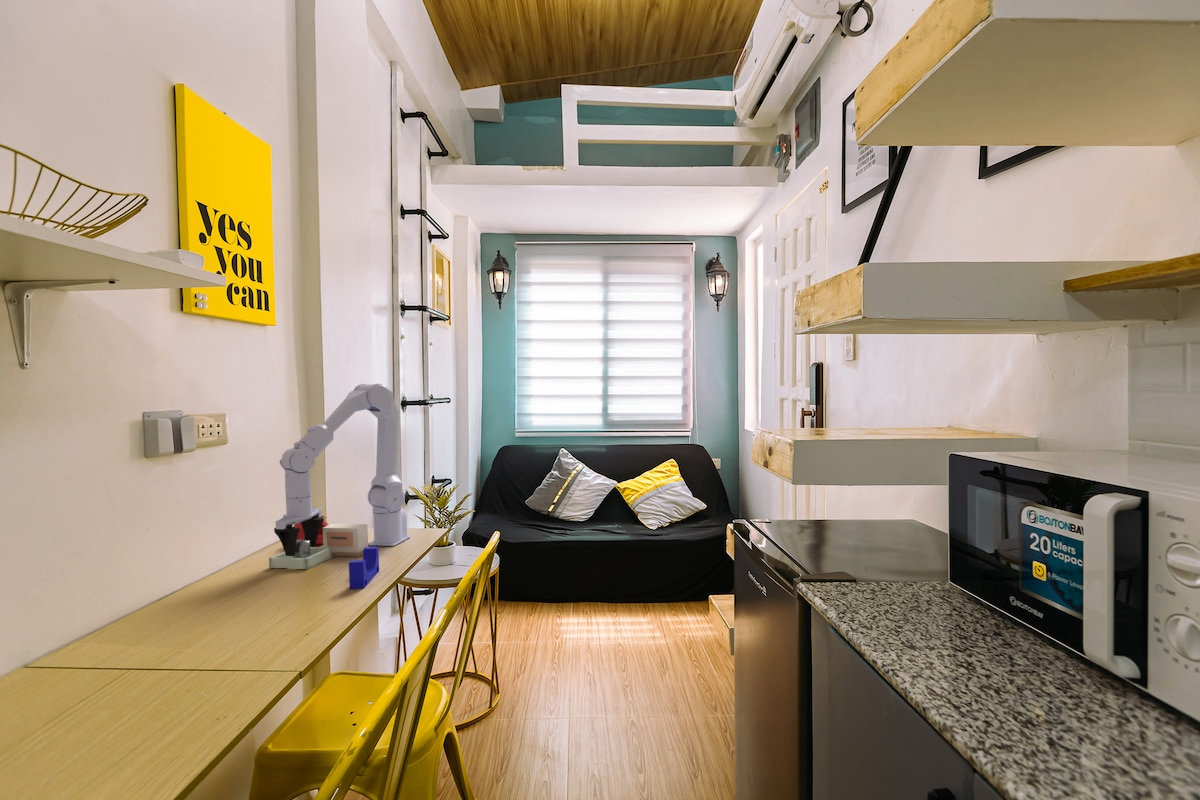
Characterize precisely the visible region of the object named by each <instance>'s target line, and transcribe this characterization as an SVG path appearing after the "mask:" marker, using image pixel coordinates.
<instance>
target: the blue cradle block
mask: <svg viewBox="0 0 1200 800" xmlns="http://www.w3.org/2000/svg"><path fill="white" fill-rule="evenodd" d="M379 551H380V550H379V546H368V547H365V548H364V549H363V556H362V559H357V560H355V559H354V560H350V561H349V562H348V576H349V577H348V578H349V579H348V581H349V590H360V589H361V590H363V589H365V588H366V587H367V586H368V585H369V584H370V583H371V582H372V580H373V579H374V578H375V577H376V575H378V574H379V572H380V556H379V554H380V553H379Z"/></svg>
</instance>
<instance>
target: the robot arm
mask: <svg viewBox="0 0 1200 800" xmlns="http://www.w3.org/2000/svg"><path fill="white" fill-rule="evenodd" d="M393 397H394V393H393V391H392V390H391V389H390V388H388V386H387V385H385V384H383V383H375V384H373V383H371V384H366V383H360V384H358V385H356V386H355V387H354V389H353V390H351V391H350V392H348V394H347V396H345V398H344V399H343V400H342V402H341V403H340V404H339V405H338V407H336V408H335V410H334V411H333V412H332V413H331V414H330V415H329V416H328V418H326V420H325V421H323V423H322V424H315V425H313V426H309V427H308V428H307V429H306V431H307V432H306V433H305V434H304V436H302V438H300V440H299V441H295V442H294V443H293V444H292V446H293V447H291V448H288V449H286V450H285V451H284V452H283V454H282V456H281V458H280V459H279V464H280V466H281V468H282V469H283V470H284V487H285V488H284V489H285V491H284V492H285V509H286V511H285V512H286V513H285V514H283V516H282V517H281V518H280V519H278V520H276V521H275V527H274V531H273V532H274V534H275V535H276V536H277V537H278V539H279V541H280V543H281V545H282V548H283V552H285V554H286V556H295V554H296V541H297V536H298V532H299V530H300V528H294V525H295V524H297V523H300V522H301V525H302V527H303V530H304V535H305V539H310V547H316V541H317V537H318V533H319V530H320V527H321V525H322V523H323V522H324V519H325V518H324V517H321V516H323V515H322V508H320V507H316V508H315V507H313V502H312V501H313V499H312V477H311V476H312V475H311V469H312V468H313V467H314V466H315V463H316V458H317V457H318V456H319V455H321V453H322V452H323V451H324V450H325V449H326V448H327V447H328V446H329V445H330V444H331V442H332V441H334V433H335V432H336V431H337V430H338V429H339V428H340V427H341V426H342V425H343V424H344V423H345V422H347V420H349V419H350V418H351V417H353V415H354V414H355V413H356V412H361V411H365V410H366V411H369V412H370V413H371V414H372V415H373V416H374V417H376V418H377V427H376V428H377V432H376V433H377V436H376V438H377V439H376V463H375V464H376V466H375V470H376V471H375V476H374V478H373V479H372V480H371V482H370V483H371V485H370V490H369V491H368V492H367V501H368V503H369V505H370V506H372V515H373V516H372V522H373V523H372V524H373V540H372V541H370V542H368V546H376V545H377V546H376V547H379V546H384V547H386V546H387V547H395V546H397V545H398V544H401V543H402V542H404V541H406V540H407V539H409V538H411V535H409V534H408V520H407V519H408V517H407V513H406V511H405V510H404V509H403V508H402V507H403V505H405V500H406V496H405V492H404V490H403V482H402V481H401V479H400V478H399V476H398V451H399V449H398V447H399V409H398V407H397V405H396V402H395V400H394V398H393Z"/></svg>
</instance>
